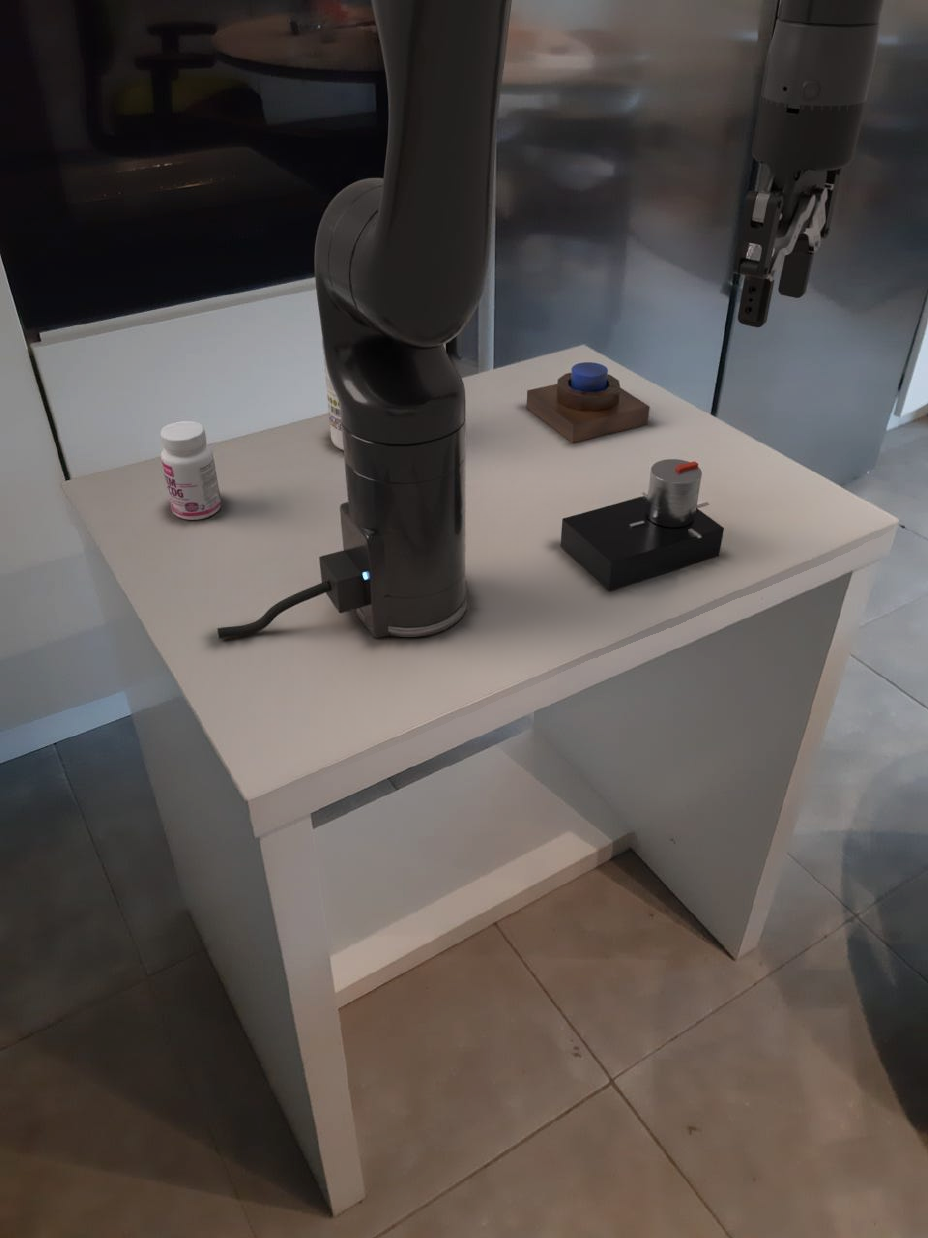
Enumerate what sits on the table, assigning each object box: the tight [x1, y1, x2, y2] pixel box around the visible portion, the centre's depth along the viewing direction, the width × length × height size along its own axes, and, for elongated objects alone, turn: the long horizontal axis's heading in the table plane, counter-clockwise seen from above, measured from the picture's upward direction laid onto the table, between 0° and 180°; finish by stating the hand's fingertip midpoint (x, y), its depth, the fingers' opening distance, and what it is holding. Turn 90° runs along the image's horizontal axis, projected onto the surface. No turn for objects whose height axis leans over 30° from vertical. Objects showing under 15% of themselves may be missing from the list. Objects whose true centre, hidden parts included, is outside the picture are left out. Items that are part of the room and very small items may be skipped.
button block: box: [526, 371, 651, 444], centre depth 111 cm, size 10×10×4 cm
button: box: [570, 361, 609, 392], centre depth 109 cm, size 4×4×2 cm
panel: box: [560, 491, 725, 592], centre depth 89 cm, size 13×9×3 cm, turn 117°
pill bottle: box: [159, 420, 222, 521], centre depth 93 cm, size 5×5×8 cm
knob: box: [646, 458, 703, 527], centre depth 87 cm, size 4×4×5 cm
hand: (771, 309), depth 82 cm, fingers open, 8 cm apart
